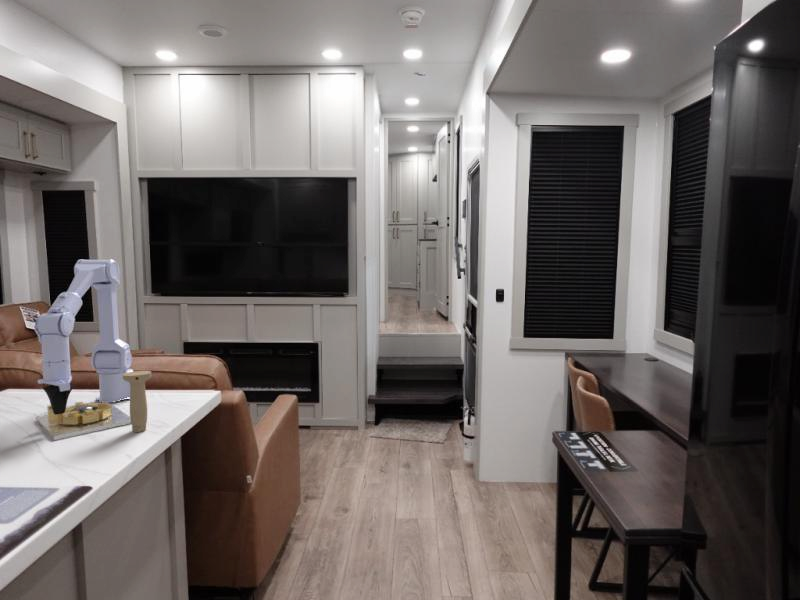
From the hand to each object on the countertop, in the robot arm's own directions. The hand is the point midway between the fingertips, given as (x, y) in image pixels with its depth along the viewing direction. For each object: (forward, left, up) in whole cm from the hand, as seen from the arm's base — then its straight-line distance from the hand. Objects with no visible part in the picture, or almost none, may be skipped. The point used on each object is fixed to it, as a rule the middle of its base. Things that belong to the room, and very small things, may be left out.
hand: (59, 413), depth 127 cm
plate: (-6, -4, -5) cm, 9 cm away
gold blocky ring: (-6, -4, -3) cm, 8 cm away
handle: (-14, +13, -5) cm, 20 cm away
